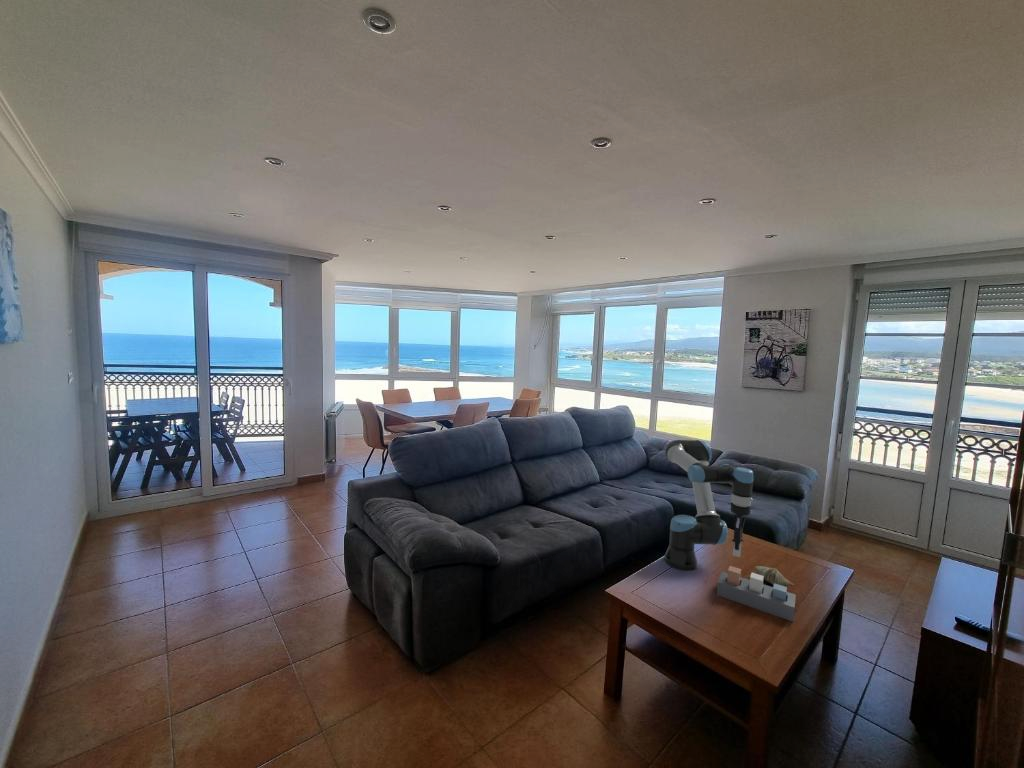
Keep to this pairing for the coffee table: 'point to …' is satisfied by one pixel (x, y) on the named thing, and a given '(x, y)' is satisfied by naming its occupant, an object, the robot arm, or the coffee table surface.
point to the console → (757, 597)
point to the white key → (756, 582)
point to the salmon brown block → (734, 575)
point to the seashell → (772, 576)
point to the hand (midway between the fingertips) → (736, 555)
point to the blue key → (779, 592)
